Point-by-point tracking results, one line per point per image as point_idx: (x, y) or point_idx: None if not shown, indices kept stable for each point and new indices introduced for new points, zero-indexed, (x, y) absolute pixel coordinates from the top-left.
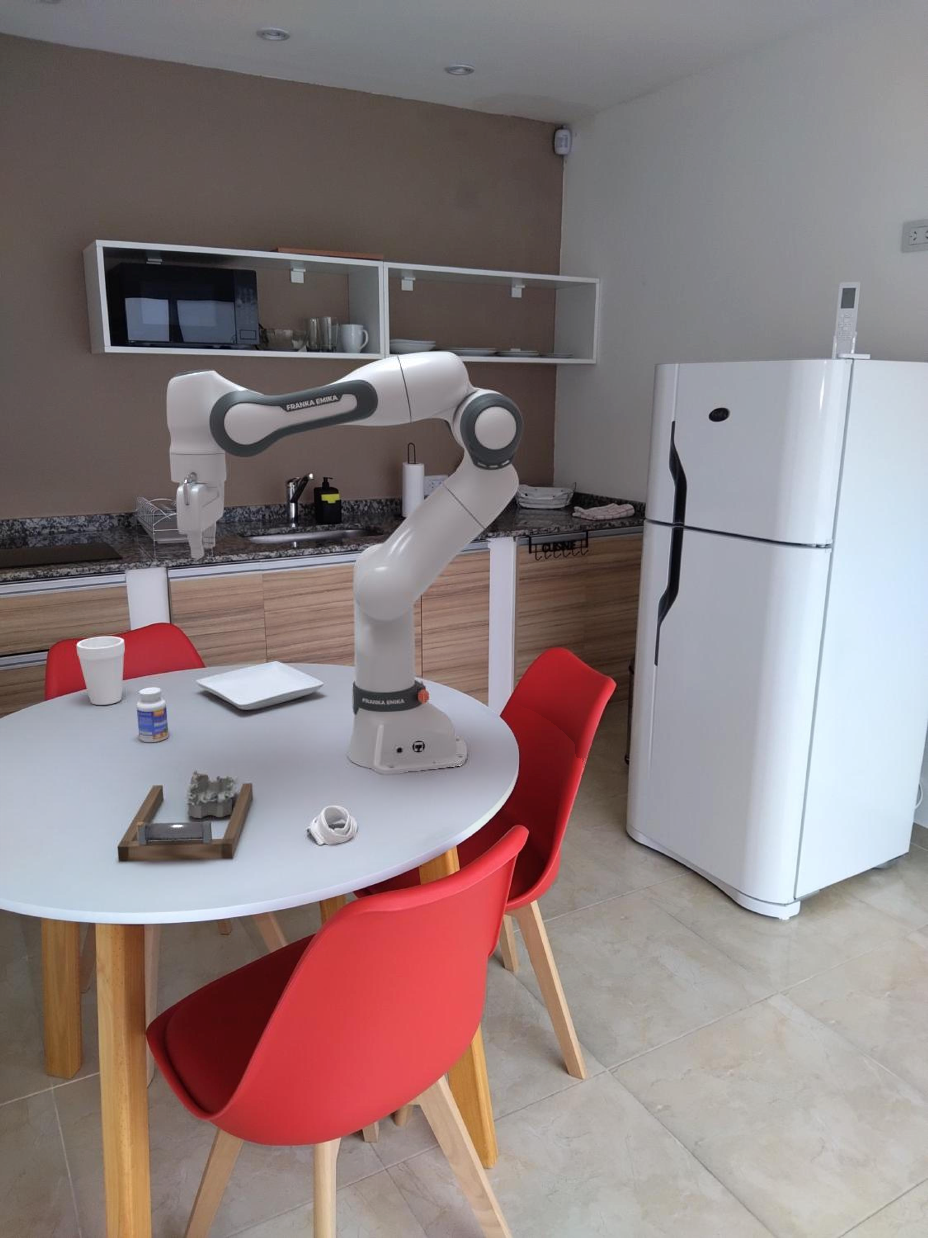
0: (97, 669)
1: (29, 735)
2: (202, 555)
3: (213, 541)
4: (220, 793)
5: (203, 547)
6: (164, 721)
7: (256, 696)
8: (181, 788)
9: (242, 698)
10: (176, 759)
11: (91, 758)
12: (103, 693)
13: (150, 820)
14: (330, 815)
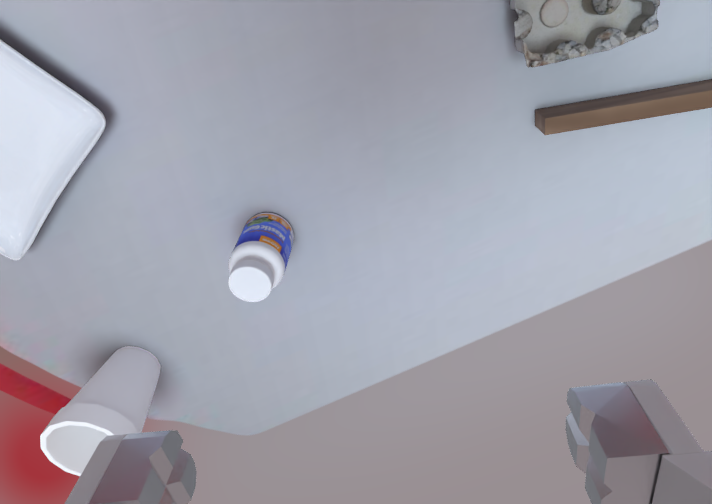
0: (139, 410)
1: (300, 394)
2: (654, 387)
3: (142, 469)
4: (519, 7)
5: (609, 447)
6: (265, 228)
7: (4, 117)
8: (478, 100)
9: (31, 143)
10: (354, 159)
11: (368, 288)
12: (151, 372)
13: (633, 96)
14: None
